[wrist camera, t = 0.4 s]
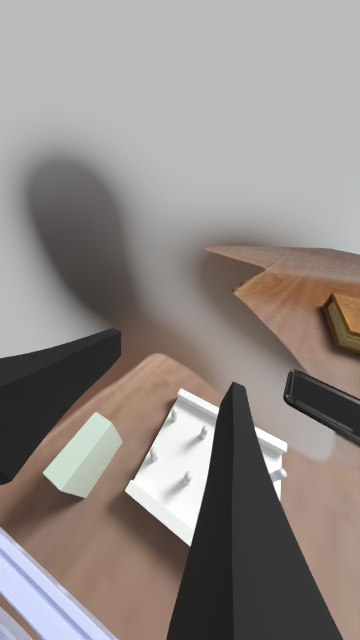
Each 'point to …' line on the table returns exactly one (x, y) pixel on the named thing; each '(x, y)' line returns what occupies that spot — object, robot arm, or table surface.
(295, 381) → the phone
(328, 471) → the table surface
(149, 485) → the dish rack
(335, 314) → the diary
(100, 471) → the block
